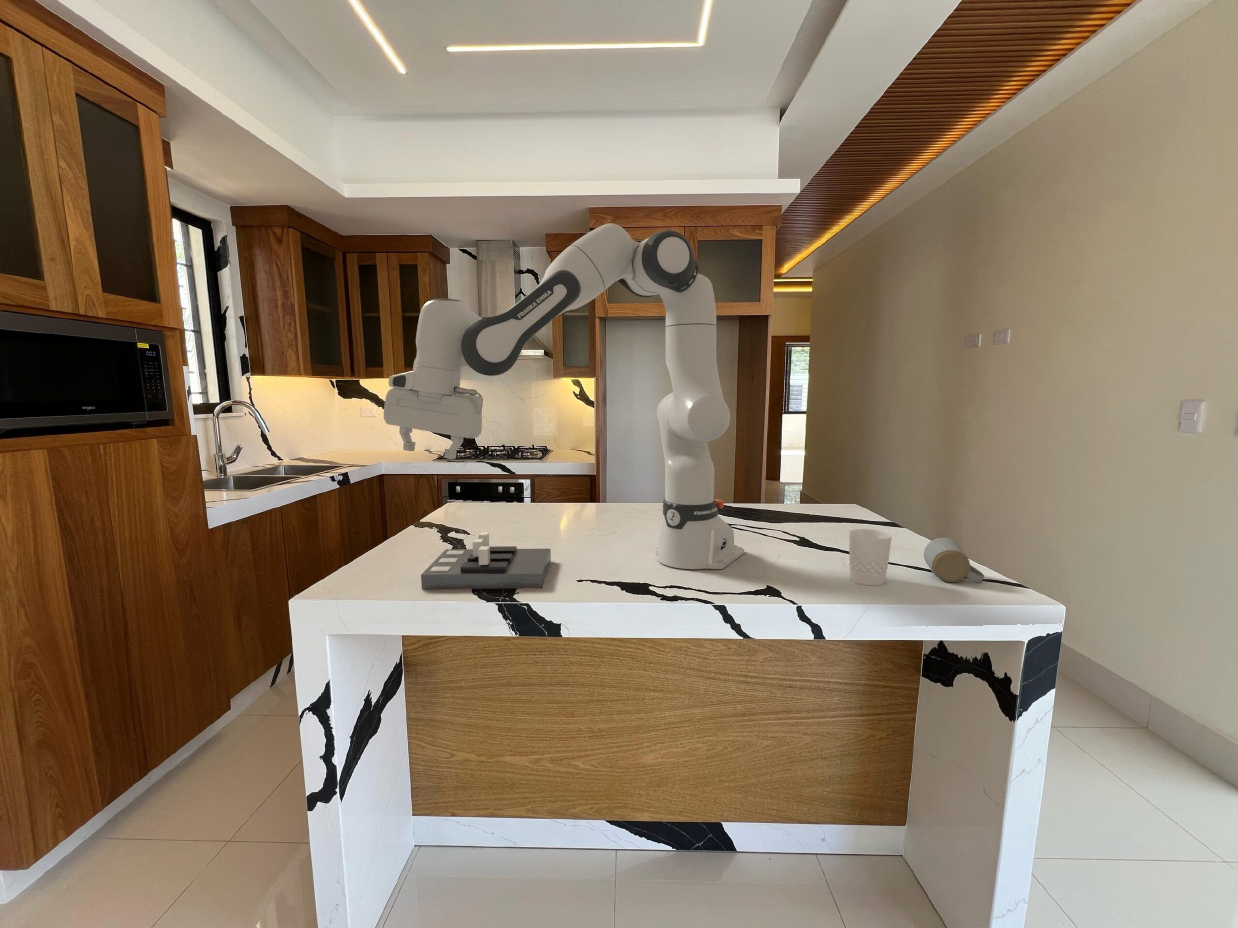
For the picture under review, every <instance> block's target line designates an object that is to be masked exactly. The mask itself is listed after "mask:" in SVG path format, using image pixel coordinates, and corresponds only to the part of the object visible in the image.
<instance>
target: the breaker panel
mask: <svg viewBox="0 0 1238 928" xmlns="http://www.w3.org/2000/svg"><path fill="white" fill-rule="evenodd" d="M551 550H552V549H551V548H517V546H516V545H515V546H514V545H513V546H505V545H504V546H502V545H501V546H490V562H489V564H488V565H479V557H473V548H462V549H461V548H458V549H455V548H454V549H453V548H450V549H449V548H447V549H445V550H443V552H442V553H440V555H439V556H438V557H437V558H436V559H435V560H433V562H431V564H430V565H429V566H428V567H427V568H426V569H425V570H424V571H423V572H422V573H421V574H420V578H421V579H420V580H421V581H420V584H421V590H463V589H464V590H465V589H469V590H471V589H473V590H477V589H479V590H481V589H482V590H483V589H484V590H485V589H486V590H487V589H488V590H489V589H490V590H493V589H543V587H544V583H545V581H546V577H547V575H548V571H549V568H550V565H551V562H552V558H551V556H552V554H551Z"/></svg>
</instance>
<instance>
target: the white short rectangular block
mask: <svg viewBox="0 0 1238 928" xmlns="http://www.w3.org/2000/svg"><path fill="white" fill-rule="evenodd" d="M478 539H483V542H484V546H490V532H489V531H487V532H486V531H484V532H483V531H481V532H480V533H479V534H478Z"/></svg>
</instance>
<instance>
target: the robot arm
mask: <svg viewBox="0 0 1238 928" xmlns="http://www.w3.org/2000/svg"><path fill="white" fill-rule="evenodd" d="M695 258H696V257H695V253H694V250H693V246H692V245H691V243H690V242H689V239H688V238H687V236H685V235H684V234H682V233H681V232H679V231H676V230H662V231H658V232H655V233H653V234H652V235H650V236H649V237H647V238H645V239H644V240H642V241H640V242H639V241H635V240H634V239H633V238H632V237H631V236H630V234H629V233H628V232H627V230H625V229H624V228H623V227H622V226H620V225H619V224H616V223H611V222H609V223H605V224H603V225H601V226H599V227H596V228H594V229H593V230H590V231H588V232H587V233H586V234H584V235H583V236H581V237H579V238H578V239H577V240H576V241H574V242H573V243H572V244H570V245H569V246H568V247H566V248H565V249H564V250H563V251H562V252H560V254H558V255H557V257H555V259H554V260H553V261H552V262H551V263H550V265H549V266H548V267H547V268H546V269H545V272H544V275H543V277H542V279H541V281H540V283H538V285H537V286H536V287H535V288H534V289H533V290H531V291H530V292H529V293H528V294H526V295H525V296H524V297H522V299H520V300H519V301H518V302H515V304H514V305H512V306H511V307H510V308H509V309H507V310H506V311H504V312H502V313H500V314H497V315H494V316H489V317H484V318H482V317H481V316H479V315H478V314H477V313H475V311H472V310H471V308H469V307H468V306H467V305H466V304H465V302H464V301H462V300H459V299H454V298H435V299H431V300H429V301H426V303H425V304H424V305H422V307H421V309H420V312H419V318H418V321H417V322H418V323H417V329H416V336H415V345H416V346H415V347H416V355H415V356H416V357H415V359H414V361H413V368H412V370H411V371H407V372H404V373H399V374H393V375H391V376H389V377H388V386H389V387H390V389H388V391H387V392H386V395H385V399H384V407H383V421H384V423H386V424H387V425H390V426H396V427H399V430H398V431H399V435H400V438H401V440H402V442H403V447H402V450H403V451H406V452H414V451H415V450H416V447H415V446H416V442H415V441H413V440H412V437H411V433H413V429H414V430H418V431H424V432H429V433H430V432H431V433H436V434H442V435H447V436H448V435H449V436H450V441H451V442H452V443H451V445H450V447H449V448H445V449H444V456H443V457H444V458H445V459H449V460H455V459H456V458H457V451H458V450H459V448H460V447H461V445H462V444H463V443H464V439H478V438H479V436H481V434H482V429H483V412H482V409H483V405H484V398H483V396H482V394H481V393H480V392H478V390H477V389H473V388H465V387H461V381H462V372H463V371H462V370H463V368H464V367H467V368H470V369H472V370H473V371H475V372H476V373H478V374H480V375H483V376H489V377H494V376H499V375H503V374H506V373H507V372H508V371H510V370H511V369H512V367H513V366H514V365H515V363H516V362H517V361H518V358H519V356H520V354H521V352H522V350H523V348H524V346H525V345H526V343H527V342H528V341H529V340H530V339H531V338H532V337H533V336H535V335H536V334H537V333H538V332H539V331H541V330H542V329H543V328H544V327H545V326H547V325H548V324H549V323H551V322H552V321H553V320H554V319H555V318H556V317H558V316H559V315H561V314H563V313H565V312H568V311H571V310H572V311H573V310H576V309H578V308H580V307H582V306H584V305H586V304H588V303H590V302H591V301H592V300H595V299H596V298H597V297H599V296H600V295H601V294H602V293H603V292H605V291H606V290H607V289H608V288H609V287H611V286H612V285H613V284H614V283H616V282H618V283H619V284H620V285H622V286H623V287H624V288H625V290H627V291H628V292H629V293H630V294H631V295H633V296H635V297H639V298H649V297H650V298H651V297H653V296H656V295H659V297H660V299H661V300H662V303H663V305H664V309H665V365H666V368H667V370H668V373H669V376H670V382H671V387H672V392H671V393H668V394H667V395H666V396H664V397H663V398H662V399H661V401H660V402H659V403H658V405H657V409H656V418H657V419H656V420H657V422H658V424H659V429H660V430H659V431H660V438H661V439H660V441H661V446H662V451H663V452H662V453H663V458H664V469H665V472H664V473H665V474H664V476H665V477H664V483H665V484H664V495H665V496H664V499H663V500H662V515H663V516H664V517H663V519H661V521H660V529H659V539H658V546H657V547H655V553H656V555H657V557H656V558H657V560H658V562H659V563H660V564H662V565H665V566H667V567H671V568H677V569H683V570H702V569H703V570H705V569H709V570H710V569H711V570H722V569H724V568H725V567H727V566H728V565H730V564H732V563H733V562H734V561H735V560H736V559H738V558H740V557H741V556H742V555H744V554H745V548H743V547H741V546H739V545H737V544H735V533H734V529H733V528H732V527H731V526H730V525H729V524H728V523H727V522H725V520H724V519H722V518H721V517H720V516H719V511H718V509H723V508H724V506H725V501H724V500H723V499H718V498H717V499H714V495H715V466H714V465H715V464H714V462H713V460H712V457H711V454H710V449H709V445H708V442H711V441H714V440H717V439H719V438H720V437H722V436H723V435H724V434H726V433H725V432H726V431H727V430H728V429H729V425H730V422H731V411H730V408H729V407H728V404H727V403H726V401H725V399H724V396H723V390H722V385H721V381H720V376H719V370H718V362H717V361H718V360H717V307H716V298H715V293H714V287H713V283H712V281H711V280H710V279H709V278H708V277H707V276H705V275H703V274H700V273H699V266H698V263H697V261H696V259H695Z"/></svg>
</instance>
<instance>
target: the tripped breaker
mask: <svg viewBox="0 0 1238 928" xmlns="http://www.w3.org/2000/svg"><path fill="white" fill-rule="evenodd" d="M490 547H491V546H490V545H489V546H481V547H480V548H479V550H478V552H479V565H488V564H489V562H490Z"/></svg>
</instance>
